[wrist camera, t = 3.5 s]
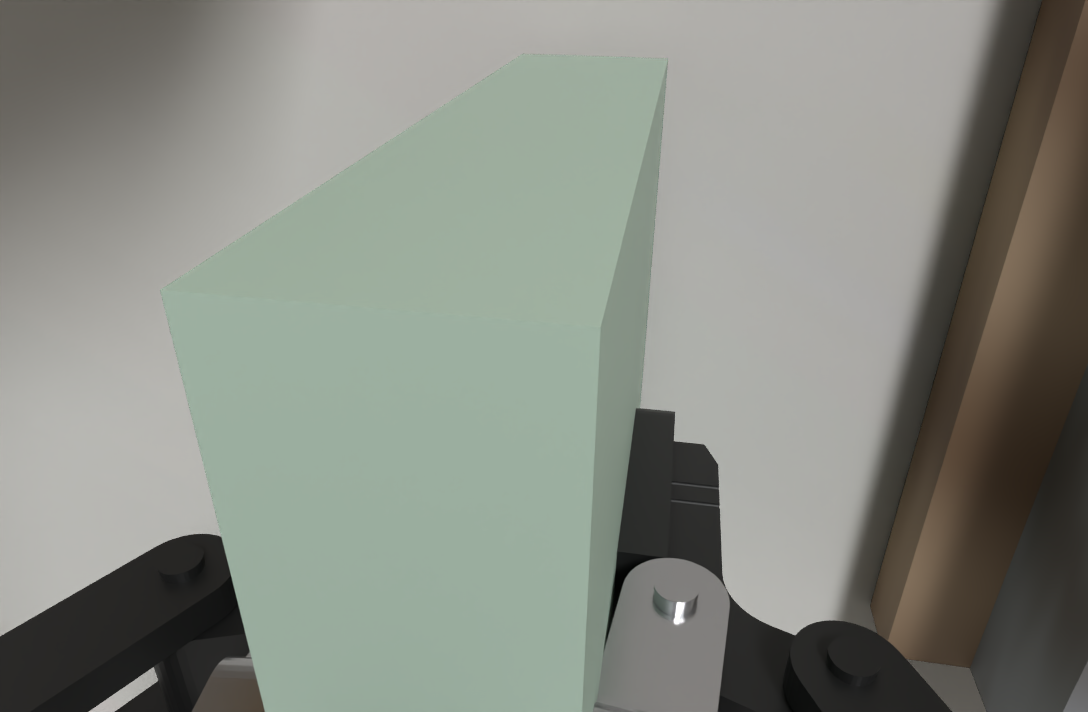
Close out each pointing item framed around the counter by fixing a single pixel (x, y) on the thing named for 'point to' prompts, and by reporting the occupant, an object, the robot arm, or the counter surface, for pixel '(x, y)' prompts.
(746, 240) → the counter surface
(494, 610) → the door panel
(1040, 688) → the door track
